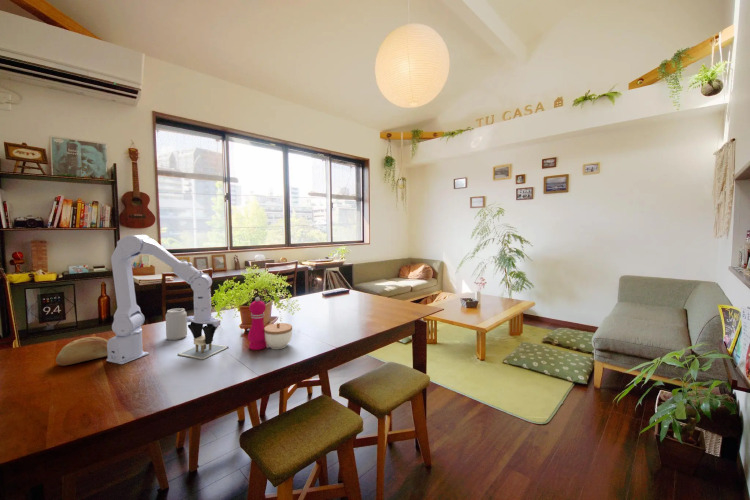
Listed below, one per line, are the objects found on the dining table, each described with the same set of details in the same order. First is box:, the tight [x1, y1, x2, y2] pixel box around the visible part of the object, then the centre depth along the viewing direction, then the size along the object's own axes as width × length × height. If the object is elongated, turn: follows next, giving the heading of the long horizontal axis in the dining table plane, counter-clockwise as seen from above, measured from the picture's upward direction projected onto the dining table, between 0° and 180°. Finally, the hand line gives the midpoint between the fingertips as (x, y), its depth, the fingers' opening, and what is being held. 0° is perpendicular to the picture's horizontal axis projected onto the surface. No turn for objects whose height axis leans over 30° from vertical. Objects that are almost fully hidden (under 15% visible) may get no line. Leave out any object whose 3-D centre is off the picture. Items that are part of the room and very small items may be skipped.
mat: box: [177, 343, 229, 361], centre depth 119 cm, size 12×12×1 cm
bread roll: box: [55, 336, 109, 366], centre depth 110 cm, size 10×15×8 cm, turn 136°
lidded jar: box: [264, 322, 293, 350], centre depth 125 cm, size 11×11×9 cm
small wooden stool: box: [193, 334, 214, 353], centre depth 119 cm, size 5×4×5 cm
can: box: [164, 307, 188, 341], centre depth 132 cm, size 8×8×12 cm
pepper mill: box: [247, 296, 267, 351], centre depth 124 cm, size 7×7×20 cm
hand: (203, 342), depth 119 cm, fingers open, 5 cm apart
